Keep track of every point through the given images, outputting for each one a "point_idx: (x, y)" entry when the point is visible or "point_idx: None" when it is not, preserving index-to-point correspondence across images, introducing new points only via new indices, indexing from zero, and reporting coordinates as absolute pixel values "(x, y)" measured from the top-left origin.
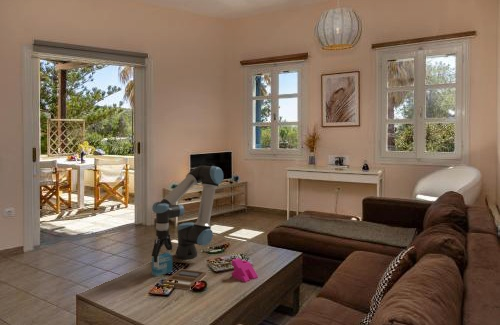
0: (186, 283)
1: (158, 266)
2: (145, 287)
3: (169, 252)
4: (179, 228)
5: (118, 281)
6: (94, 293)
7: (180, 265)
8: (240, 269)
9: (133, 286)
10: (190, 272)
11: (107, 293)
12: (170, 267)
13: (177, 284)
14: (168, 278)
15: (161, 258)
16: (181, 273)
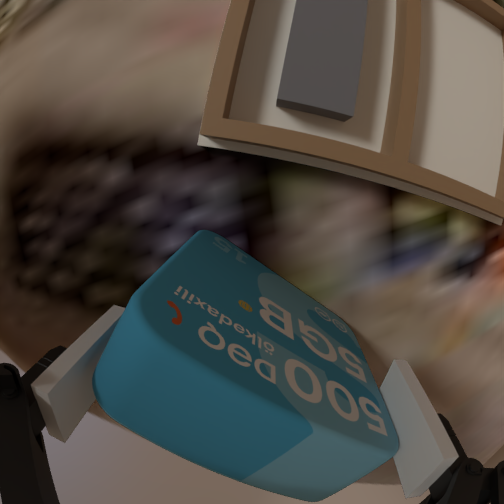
0: (454, 41)
1: (402, 365)
2: (489, 323)
3: (68, 373)
4: None
5: (382, 466)
6: (474, 458)
7: (48, 212)
8: None
9: (461, 387)
10: (296, 5)
11: (491, 429)
12: (216, 254)
13: None
14: (471, 191)
15: (341, 420)
16: (343, 83)
